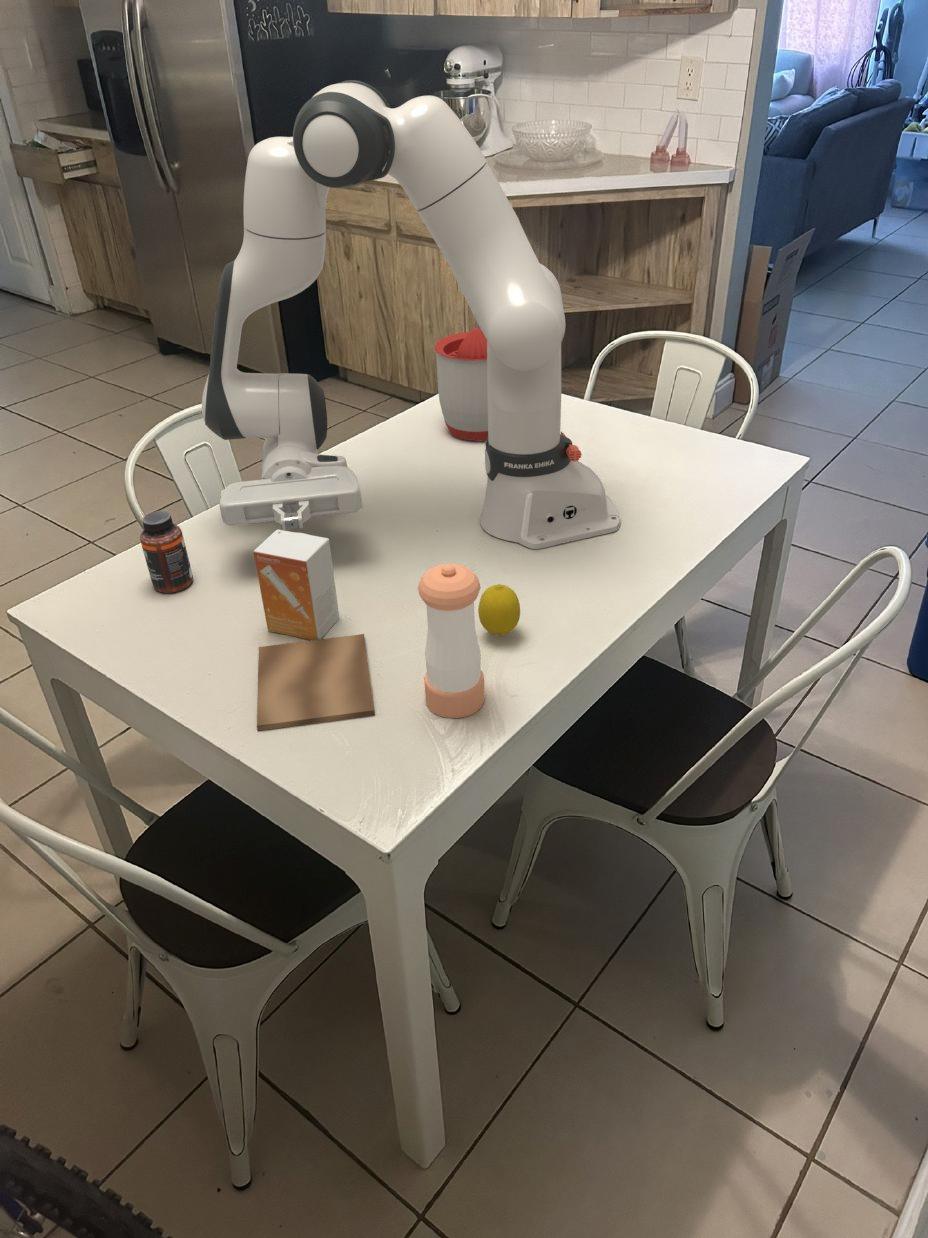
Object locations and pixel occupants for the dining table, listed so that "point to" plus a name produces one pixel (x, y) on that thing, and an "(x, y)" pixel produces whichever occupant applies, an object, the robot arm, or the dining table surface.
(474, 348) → the citrus juicer
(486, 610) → the lemon
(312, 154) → the robot arm
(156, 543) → the supplement bottle
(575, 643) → the dining table surface
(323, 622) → the small box
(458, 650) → the pepper shaker
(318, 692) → the walnut board
